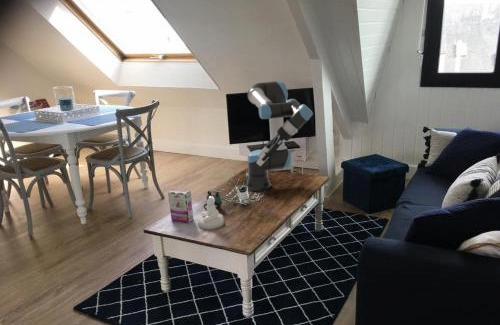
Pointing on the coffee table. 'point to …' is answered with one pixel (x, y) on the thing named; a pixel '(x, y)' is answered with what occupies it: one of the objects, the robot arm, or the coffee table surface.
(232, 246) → the coffee table surface
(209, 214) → the white creature statuette
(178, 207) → the candy bar box
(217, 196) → the green bottle cruet set
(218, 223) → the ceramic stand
